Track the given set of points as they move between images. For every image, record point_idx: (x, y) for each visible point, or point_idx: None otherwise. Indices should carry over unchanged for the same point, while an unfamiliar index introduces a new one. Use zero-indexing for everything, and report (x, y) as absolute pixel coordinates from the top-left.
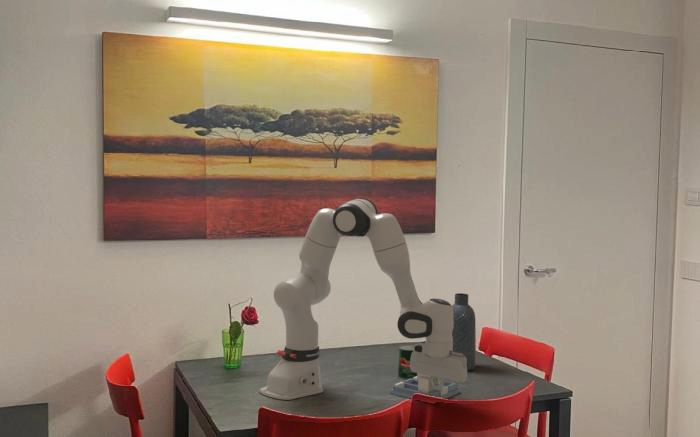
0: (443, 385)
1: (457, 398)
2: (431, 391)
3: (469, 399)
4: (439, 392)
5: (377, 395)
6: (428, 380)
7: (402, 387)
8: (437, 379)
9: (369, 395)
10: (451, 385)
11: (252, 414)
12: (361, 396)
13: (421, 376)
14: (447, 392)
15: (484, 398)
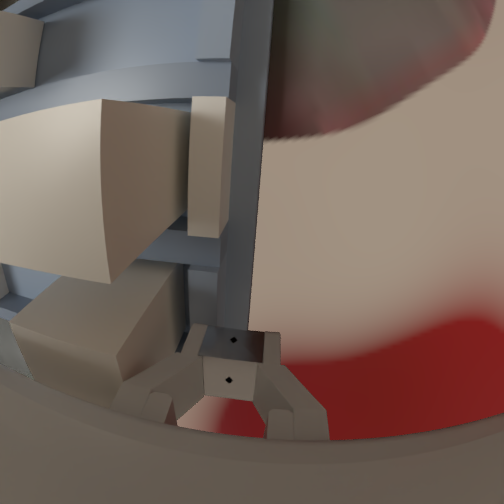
0: (172, 112)
1: (334, 110)
2: (172, 311)
3: (418, 88)
4: (222, 259)
5: (9, 334)
6: None
7: (15, 312)
8: (121, 261)
9: (3, 344)
10: (232, 28)
11: None
12: (5, 362)
13: (31, 369)
14: (234, 108)
15: (473, 29)
